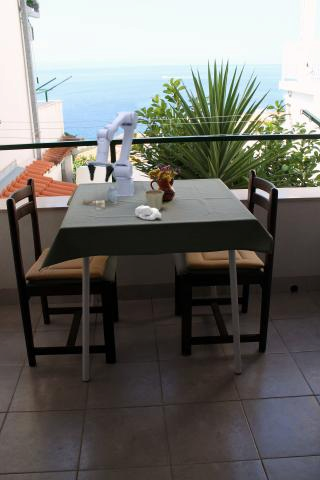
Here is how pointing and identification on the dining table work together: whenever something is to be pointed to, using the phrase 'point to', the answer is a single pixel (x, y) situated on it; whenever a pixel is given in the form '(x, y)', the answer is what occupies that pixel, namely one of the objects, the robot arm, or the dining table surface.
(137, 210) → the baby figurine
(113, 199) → the pawn
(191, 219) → the dining table surface
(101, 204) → the die
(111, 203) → the track
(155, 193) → the flower pot
